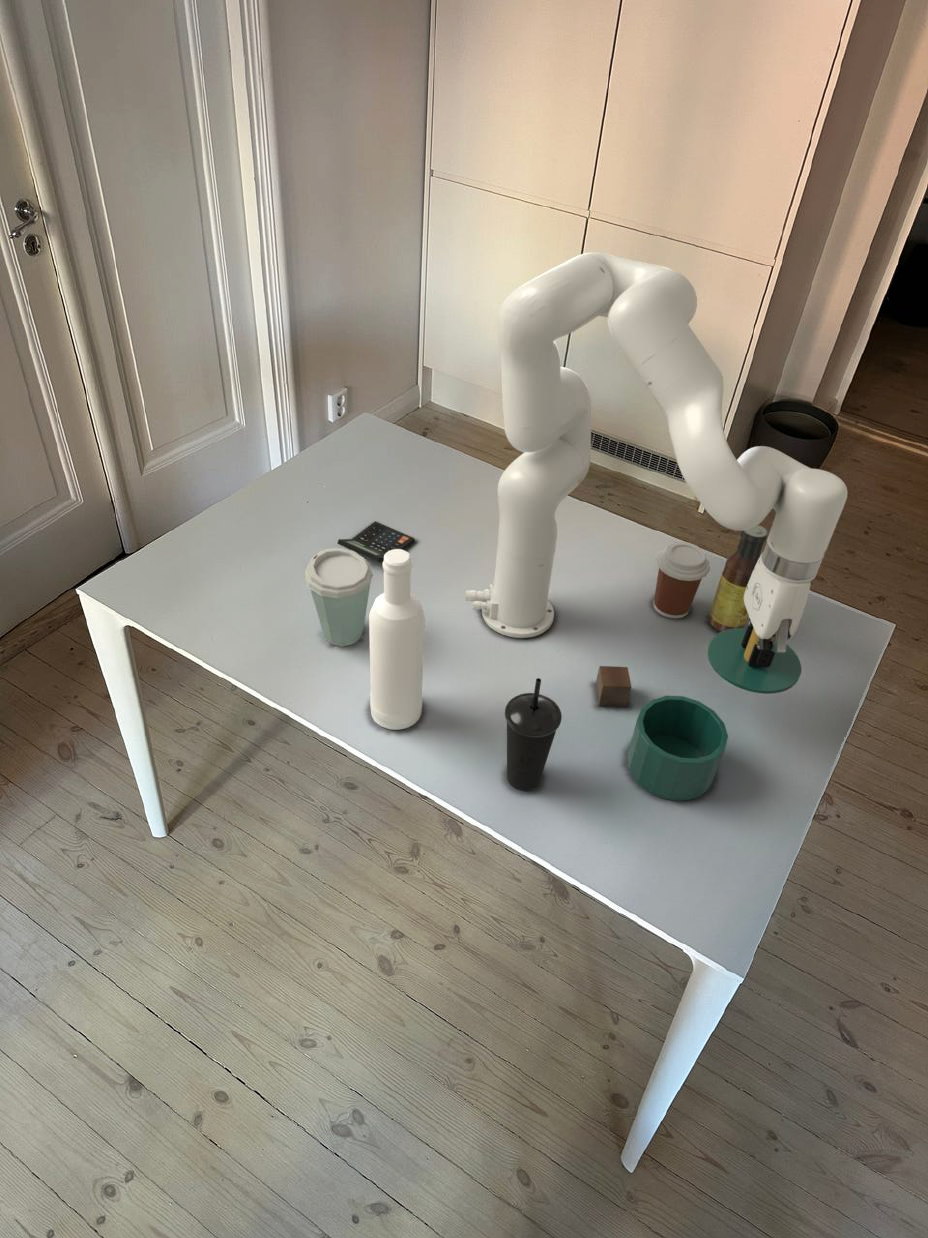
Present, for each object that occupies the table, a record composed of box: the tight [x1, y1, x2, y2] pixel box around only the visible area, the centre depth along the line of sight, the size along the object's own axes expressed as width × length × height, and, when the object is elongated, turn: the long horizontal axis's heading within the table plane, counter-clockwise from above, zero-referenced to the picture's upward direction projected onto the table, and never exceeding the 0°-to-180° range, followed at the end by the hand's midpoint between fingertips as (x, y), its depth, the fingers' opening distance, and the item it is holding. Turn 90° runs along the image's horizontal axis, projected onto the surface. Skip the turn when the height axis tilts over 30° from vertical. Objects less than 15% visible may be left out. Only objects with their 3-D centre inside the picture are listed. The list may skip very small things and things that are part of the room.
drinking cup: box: [504, 677, 563, 792], centre depth 120 cm, size 8×8×20 cm
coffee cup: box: [652, 541, 711, 619], centre depth 154 cm, size 9×9×12 cm
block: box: [594, 665, 632, 708], centre depth 139 cm, size 4×4×4 cm
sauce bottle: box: [708, 524, 769, 633], centre depth 149 cm, size 7×6×20 cm
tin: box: [626, 695, 729, 802], centre depth 127 cm, size 13×13×8 cm
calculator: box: [337, 521, 415, 563], centre depth 165 cm, size 9×12×3 cm
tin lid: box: [707, 627, 802, 695], centre depth 129 cm, size 14×14×7 cm
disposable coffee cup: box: [304, 547, 373, 647], centre depth 142 cm, size 11×11×15 cm
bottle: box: [368, 549, 426, 731], centre depth 125 cm, size 8×8×30 cm
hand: (755, 655), depth 130 cm, fingers closed on tin lid, 3 cm apart
